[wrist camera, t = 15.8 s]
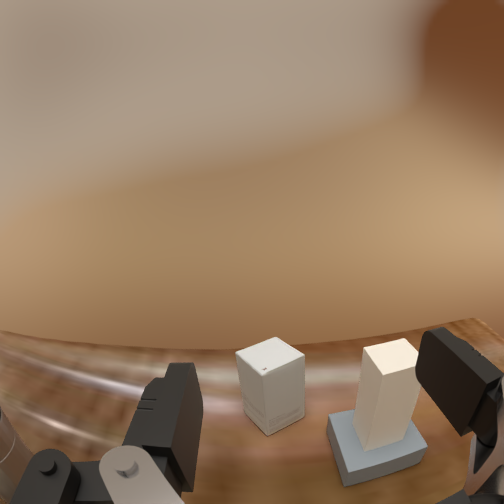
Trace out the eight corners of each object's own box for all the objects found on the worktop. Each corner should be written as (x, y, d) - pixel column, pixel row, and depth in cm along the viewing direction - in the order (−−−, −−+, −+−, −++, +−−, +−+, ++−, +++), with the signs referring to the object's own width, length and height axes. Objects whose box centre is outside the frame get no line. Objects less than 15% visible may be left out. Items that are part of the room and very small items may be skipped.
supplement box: (306, 417, 40) (307, 354, 37) (266, 437, 36) (260, 375, 33) (280, 395, 46) (276, 335, 43) (242, 411, 43) (233, 350, 40)
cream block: (364, 451, 27) (382, 374, 24) (352, 423, 32) (363, 347, 29) (402, 439, 27) (427, 362, 24) (387, 414, 32) (404, 338, 29)
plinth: (343, 486, 25) (348, 472, 24) (326, 431, 36) (328, 414, 35) (419, 462, 25) (428, 446, 24) (392, 415, 36) (397, 398, 35)
